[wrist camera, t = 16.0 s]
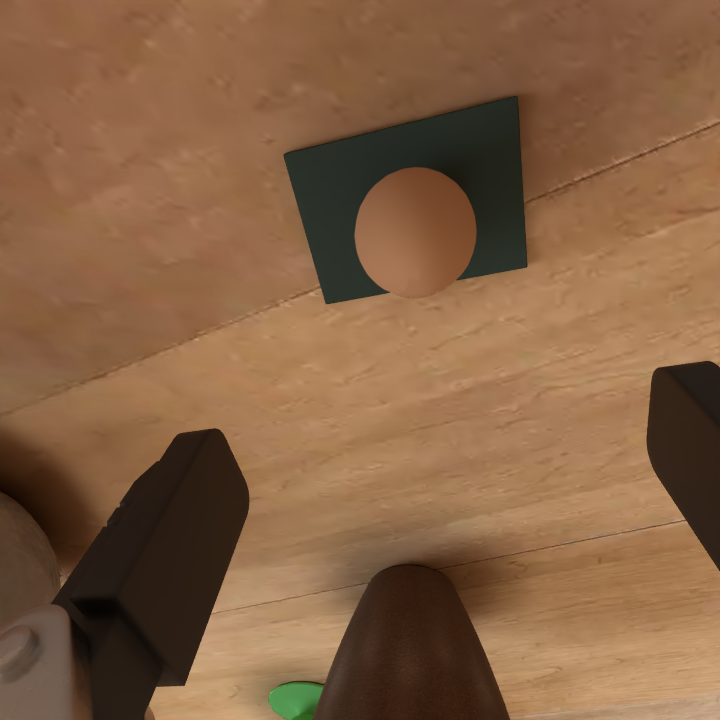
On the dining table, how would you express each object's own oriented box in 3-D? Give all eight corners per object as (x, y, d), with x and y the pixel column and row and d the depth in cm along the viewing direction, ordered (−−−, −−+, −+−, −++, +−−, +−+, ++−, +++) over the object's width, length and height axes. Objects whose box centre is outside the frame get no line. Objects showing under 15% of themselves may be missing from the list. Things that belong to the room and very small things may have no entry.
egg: (487, 200, 23) (523, 248, 16) (421, 281, 25) (428, 353, 18) (403, 133, 22) (402, 153, 15) (342, 225, 24) (317, 278, 17)
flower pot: (357, 650, 45) (336, 901, 31) (293, 550, 38) (231, 812, 24) (515, 631, 41) (572, 904, 27) (476, 516, 34) (525, 802, 21)
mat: (515, 95, 21) (517, 95, 21) (525, 264, 25) (527, 267, 24) (285, 153, 23) (282, 154, 23) (327, 301, 27) (325, 304, 26)
